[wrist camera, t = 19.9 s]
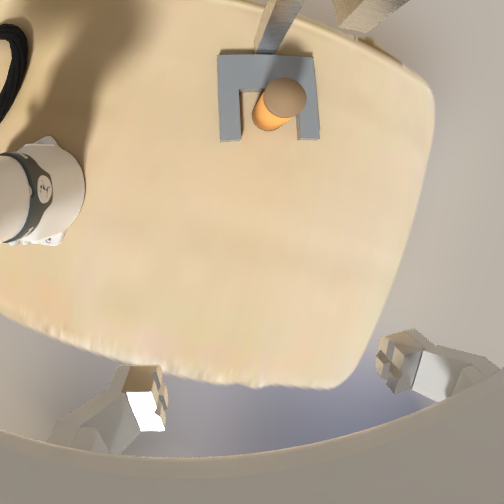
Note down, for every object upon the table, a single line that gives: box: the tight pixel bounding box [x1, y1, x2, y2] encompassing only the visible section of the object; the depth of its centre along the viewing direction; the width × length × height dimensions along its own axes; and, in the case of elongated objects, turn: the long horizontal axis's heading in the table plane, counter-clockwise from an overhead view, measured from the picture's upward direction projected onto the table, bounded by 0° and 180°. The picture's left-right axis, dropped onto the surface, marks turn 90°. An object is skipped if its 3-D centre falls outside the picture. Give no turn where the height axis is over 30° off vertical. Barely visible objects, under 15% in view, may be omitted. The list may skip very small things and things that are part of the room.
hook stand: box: [254, 0, 409, 55], centre depth 23 cm, size 3×14×36 cm, turn 3°
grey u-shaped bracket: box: [217, 54, 320, 142], centre depth 40 cm, size 15×14×2 cm
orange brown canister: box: [252, 77, 307, 131], centre depth 36 cm, size 5×5×12 cm
